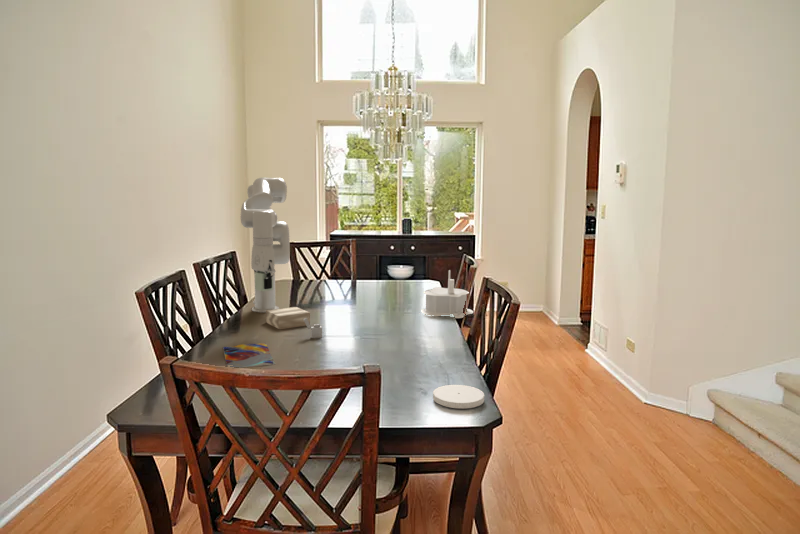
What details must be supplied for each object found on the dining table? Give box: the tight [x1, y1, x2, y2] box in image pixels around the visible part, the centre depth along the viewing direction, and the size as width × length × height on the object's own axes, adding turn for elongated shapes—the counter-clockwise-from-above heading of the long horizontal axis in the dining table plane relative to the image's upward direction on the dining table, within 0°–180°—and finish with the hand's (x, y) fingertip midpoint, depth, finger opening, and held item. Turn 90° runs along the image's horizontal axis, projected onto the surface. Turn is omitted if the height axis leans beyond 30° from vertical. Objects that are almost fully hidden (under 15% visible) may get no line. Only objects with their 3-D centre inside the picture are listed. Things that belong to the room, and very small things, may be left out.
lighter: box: [303, 318, 323, 339], centre depth 217 cm, size 7×2×8 cm, turn 104°
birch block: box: [265, 306, 311, 330], centre depth 239 cm, size 14×14×6 cm
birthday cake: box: [420, 269, 474, 319], centre depth 265 cm, size 30×29×22 cm
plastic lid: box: [432, 384, 485, 410], centre depth 153 cm, size 14×14×2 cm
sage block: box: [254, 272, 273, 291], centre depth 220 cm, size 5×5×7 cm
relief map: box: [222, 342, 276, 369], centre depth 193 cm, size 25×15×2 cm, turn 20°
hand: (264, 287), depth 220 cm, fingers closed on sage block, 5 cm apart
